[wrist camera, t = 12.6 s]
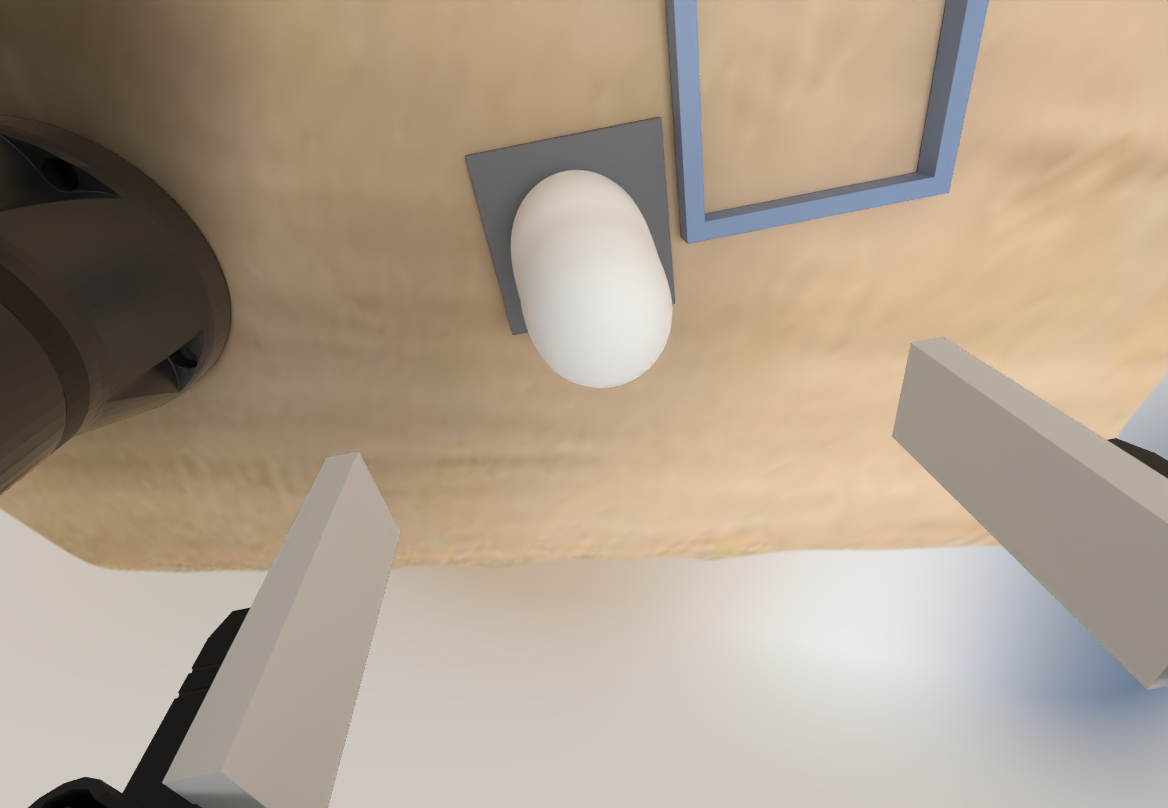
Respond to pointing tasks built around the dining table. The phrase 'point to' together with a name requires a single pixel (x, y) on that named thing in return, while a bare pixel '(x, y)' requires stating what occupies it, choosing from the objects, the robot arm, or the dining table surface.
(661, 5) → the dining table surface
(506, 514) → the dining table surface
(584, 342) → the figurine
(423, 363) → the dining table surface
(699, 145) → the cradle
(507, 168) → the mat
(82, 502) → the dining table surface
